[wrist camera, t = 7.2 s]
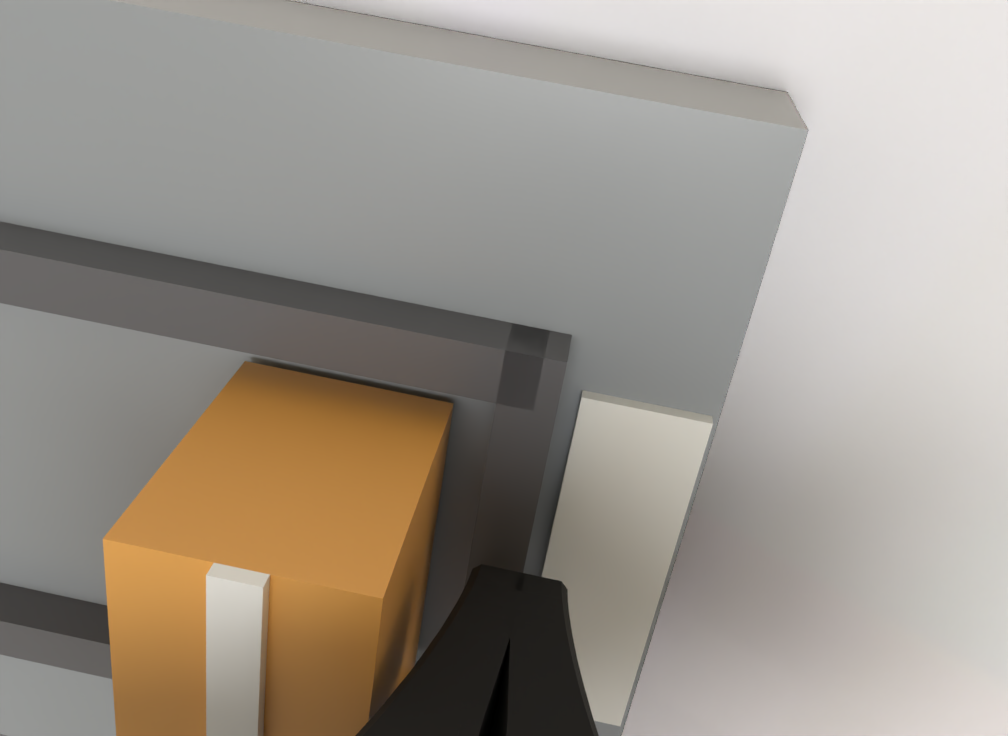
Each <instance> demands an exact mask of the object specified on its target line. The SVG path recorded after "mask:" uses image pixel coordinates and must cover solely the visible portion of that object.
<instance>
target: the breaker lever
mask: <svg viewBox="0 0 1008 736" xmlns="http://www.w3.org/2000/svg"><path fill="white" fill-rule="evenodd" d="M453 405H454V403H449V402H444V401H439V400H435V399H430V398H425V397H420V396H415V395H410V394H405V393H400V392H395V391H390V390H385V389H380V388H375V387H370V386H366V385H361V384H356V383H351V382H346V381H341V380H336V379H331V378H326V377H321V376H316V375H311V374H306V373H301V372H297V371H292V370H287V369H282V368H277V367H272V366H267V365H262V364H257V363H252V362H247V361H245V362H244V363H243V364H242V365H241V367H240V368H239V369H238V370H237V372H236V373H235V374H234V375H233V377H232V378H231V379H230V380H229V382H228V383H227V384H226V385H225V387H224V388H223V389H222V390H221V392H220V393H219V394H218V395H217V397H216V398H215V399H214V400H213V402H212V403H211V404H210V405H209V407H208V408H207V409H206V410H205V412H204V413H203V414H202V415H201V417H200V418H199V419H198V420H197V422H196V423H195V424H194V425H193V427H192V428H191V429H190V430H189V432H188V433H187V434H186V435H185V437H184V438H183V439H182V440H181V442H180V443H179V444H178V445H177V447H176V448H175V449H174V450H173V452H172V453H171V454H170V455H169V457H168V458H167V459H166V460H165V462H164V463H163V464H162V465H161V467H160V468H159V469H158V470H157V472H156V473H155V474H154V475H153V477H152V478H151V479H150V480H149V482H148V483H147V484H146V485H145V487H144V488H143V489H142V490H141V492H140V493H139V494H138V495H137V497H136V498H135V499H134V500H133V502H132V503H131V504H130V505H129V507H128V508H127V509H126V510H125V512H124V513H123V514H122V515H121V517H120V518H119V519H118V520H117V522H116V523H115V524H114V525H113V527H112V528H111V529H110V530H109V532H108V533H107V534H106V535H105V537H104V538H103V551H104V565H105V580H106V594H107V609H108V623H109V638H110V652H111V667H112V681H113V696H114V710H115V725H116V736H355V735H356V734H357V733H358V732H359V731H360V730H361V729H362V728H363V727H364V726H365V725H366V723H367V722H368V721H369V720H370V719H371V718H372V717H373V716H374V715H375V713H376V712H377V711H378V710H379V709H380V707H381V706H382V705H383V704H384V703H385V701H386V700H387V699H388V698H389V697H390V695H391V694H392V693H393V692H394V690H395V689H396V688H397V687H398V686H399V684H400V683H401V682H402V681H403V680H404V678H405V677H406V676H407V675H408V673H409V672H410V671H411V669H412V668H413V667H414V665H415V662H416V656H417V650H418V643H419V636H420V629H421V622H422V616H423V609H424V602H425V595H426V588H427V582H428V575H429V568H430V561H431V554H432V548H433V541H434V534H435V527H436V520H437V514H438V507H439V500H440V493H441V486H442V480H443V473H444V466H445V459H446V452H447V446H448V439H449V432H450V425H451V418H452V412H453Z"/></svg>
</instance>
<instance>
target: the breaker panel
mask: <svg viewBox="0 0 1008 736" xmlns="http://www.w3.org/2000/svg"><path fill="white" fill-rule="evenodd" d="M807 133H808V129H807V127H806V125H805V123H804V121H803V119H802V118H801V116H800V114H799V112H798V110H797V109H796V107H795V105H794V103H793V101H792V100H791V98H790V96H789V94H788V92H782V91H777V90H772V89H766V88H761V87H755V86H750V85H744V84H739V83H734V82H728V81H723V80H717V79H712V78H706V77H701V76H696V75H690V74H685V73H679V72H674V71H668V70H663V69H658V68H652V67H647V66H641V65H636V64H630V63H625V62H620V61H614V60H609V59H603V58H598V57H593V56H587V55H582V54H576V53H571V52H565V51H560V50H555V49H549V48H544V47H538V46H533V45H527V44H522V43H517V42H511V41H506V40H500V39H495V38H489V37H484V36H479V35H473V34H468V33H462V32H457V31H452V30H446V29H441V28H435V27H430V26H424V25H419V24H414V23H408V22H403V21H397V20H392V19H386V18H381V17H376V16H370V15H365V14H359V13H354V12H348V11H343V10H338V9H332V8H327V7H321V6H316V5H311V4H305V3H300V2H294V1H289V0H0V734H3V735H7V736H116V725H115V710H114V696H113V681H112V667H111V652H110V638H109V623H108V609H107V594H106V580H105V565H104V551H103V538H104V537H105V535H106V534H107V533H108V532H109V530H110V529H111V528H112V527H113V525H114V524H115V523H116V522H117V520H118V519H119V518H120V517H121V515H122V514H123V513H124V512H125V510H126V509H127V508H128V507H129V505H130V504H131V503H132V502H133V500H134V499H135V498H136V497H137V495H138V494H139V493H140V492H141V490H142V489H143V488H144V487H145V485H146V484H147V483H148V482H149V480H150V479H151V478H152V477H153V475H154V474H155V473H156V472H157V470H158V469H159V468H160V467H161V465H162V464H163V463H164V462H165V460H166V459H167V458H168V457H169V455H170V454H171V453H172V452H173V450H174V449H175V448H176V447H177V445H178V444H179V443H180V442H181V440H182V439H183V438H184V437H185V435H186V434H187V433H188V432H189V430H190V429H191V428H192V427H193V425H194V424H195V423H196V422H197V420H198V419H199V418H200V417H201V415H202V414H203V413H204V412H205V410H206V409H207V408H208V407H209V405H210V404H211V403H212V402H213V400H214V399H215V398H216V397H217V395H218V394H219V393H220V392H221V390H222V389H223V388H224V387H225V385H226V384H227V383H228V382H229V380H230V379H231V378H232V377H233V375H234V374H235V373H236V372H237V370H238V369H239V368H240V367H241V365H242V364H243V363H244V362H245V361H247V362H252V363H257V364H262V365H267V366H272V367H277V368H282V369H287V370H292V371H297V372H301V373H306V374H311V375H316V376H321V377H326V378H331V379H336V380H341V381H346V382H351V383H356V384H361V385H366V386H370V387H375V388H380V389H385V390H390V391H395V392H400V393H405V394H410V395H415V396H420V397H425V398H430V399H435V400H439V401H444V402H449V403H454V405H453V412H452V418H451V425H450V432H449V439H448V446H447V452H446V459H445V466H444V473H443V480H442V486H441V493H440V500H439V507H438V514H437V520H436V527H435V534H434V541H433V548H432V554H431V561H430V568H429V575H428V582H427V588H426V595H425V602H424V609H423V616H422V622H421V629H420V636H419V643H418V650H417V656H416V662H415V664H416V663H417V661H418V660H419V659H420V657H421V656H422V654H423V653H424V652H425V650H426V649H427V647H428V646H429V645H430V643H431V642H432V640H433V639H434V637H435V636H436V635H437V633H438V632H439V630H440V629H441V627H442V626H443V624H444V622H445V621H446V619H447V618H448V616H449V614H450V613H451V611H452V610H453V608H454V606H455V605H456V603H457V601H458V599H459V597H460V596H461V594H462V592H463V590H464V588H465V586H466V584H467V581H468V579H469V576H470V574H471V571H472V569H473V568H475V567H477V566H479V565H481V564H484V565H489V566H493V567H498V568H503V569H507V570H512V571H517V572H521V573H526V574H531V575H535V576H540V577H545V578H549V579H554V580H559V581H562V583H563V584H564V585H565V587H566V588H567V589H568V607H569V616H570V623H571V629H572V635H573V640H574V645H575V650H576V655H577V660H578V664H579V668H580V672H581V676H582V680H583V684H584V687H585V691H586V694H587V698H588V702H589V705H590V709H591V712H592V716H593V719H594V722H595V725H596V728H597V732H598V735H599V736H621V735H622V731H623V728H624V725H625V722H626V719H627V715H628V712H629V709H630V706H631V702H632V699H633V696H634V693H635V689H636V686H637V683H638V680H639V676H640V673H641V670H642V667H643V664H644V660H645V657H646V654H647V651H648V647H649V644H650V641H651V638H652V634H653V631H654V628H655V625H656V622H657V618H658V615H659V612H660V609H661V605H662V602H663V599H664V596H665V592H666V589H667V586H668V583H669V579H670V576H671V573H672V570H673V567H674V563H675V560H676V557H677V554H678V550H679V547H680V544H681V541H682V537H683V534H684V531H685V528H686V524H687V521H688V518H689V515H690V512H691V508H692V505H693V502H694V499H695V495H696V492H697V489H698V486H699V482H700V479H701V476H702V473H703V470H704V466H705V463H706V460H707V457H708V453H709V450H710V447H711V444H712V440H713V437H714V434H715V431H716V427H717V424H718V421H719V418H720V415H721V411H722V408H723V405H724V402H725V398H726V395H727V392H728V389H729V385H730V382H731V379H732V376H733V373H734V369H735V366H736V363H737V360H738V356H739V353H740V350H741V347H742V343H743V340H744V337H745V334H746V330H747V327H748V324H749V321H750V318H751V314H752V311H753V308H754V305H755V301H756V298H757V295H758V292H759V288H760V285H761V282H762V279H763V275H764V272H765V269H766V266H767V263H768V259H769V256H770V253H771V250H772V246H773V243H774V240H775V237H776V233H777V230H778V227H779V224H780V221H781V217H782V214H783V211H784V208H785V204H786V201H787V198H788V195H789V191H790V188H791V185H792V182H793V178H794V175H795V172H796V169H797V166H798V162H799V159H800V156H801V153H802V149H803V146H804V143H805V140H806V136H807ZM414 666H415V665H414Z"/></svg>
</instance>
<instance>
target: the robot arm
mask: <svg viewBox="0 0 1008 736" xmlns="http://www.w3.org/2000/svg"><path fill="white" fill-rule="evenodd" d="M355 736H599V735H598V732H597V728H596V725H595V722H594V719H593V716H592V712H591V709H590V705H589V702H588V698H587V694H586V691H585V687H584V684H583V680H582V676H581V672H580V668H579V664H578V660H577V655H576V650H575V645H574V640H573V635H572V629H571V623H570V616H569V607H568V589H567V588H566V587H565V585H564V584H563V583H562V581H559V580H554V579H549V578H545V577H540V576H535V575H531V574H526V573H521V572H517V571H512V570H507V569H503V568H498V567H493V566H489V565H484V564H481V565H479V566H477V567H475V568H473V569H472V571H471V574H470V576H469V579H468V581H467V584H466V586H465V588H464V590H463V592H462V594H461V596H460V597H459V599H458V601H457V603H456V605H455V606H454V608H453V610H452V611H451V613H450V614H449V616H448V618H447V619H446V621H445V622H444V624H443V626H442V627H441V629H440V630H439V632H438V633H437V635H436V636H435V637H434V639H433V640H432V642H431V643H430V645H429V646H428V647H427V649H426V650H425V652H424V653H423V654H422V656H421V657H420V659H419V660H418V661H417V663H416V664H415V666H414V667H413V668H412V669H411V671H410V672H409V673H408V675H407V676H406V677H405V678H404V680H403V681H402V682H401V683H400V684H399V686H398V687H397V688H396V689H395V690H394V692H393V693H392V694H391V695H390V697H389V698H388V699H387V700H386V701H385V703H384V704H383V705H382V706H381V707H380V709H379V710H378V711H377V712H376V713H375V715H374V716H373V717H372V718H371V719H370V720H369V721H368V722H367V723H366V725H365V726H364V727H363V728H362V729H361V730H360V731H359V732H358V733H357V734H356V735H355Z"/></svg>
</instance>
